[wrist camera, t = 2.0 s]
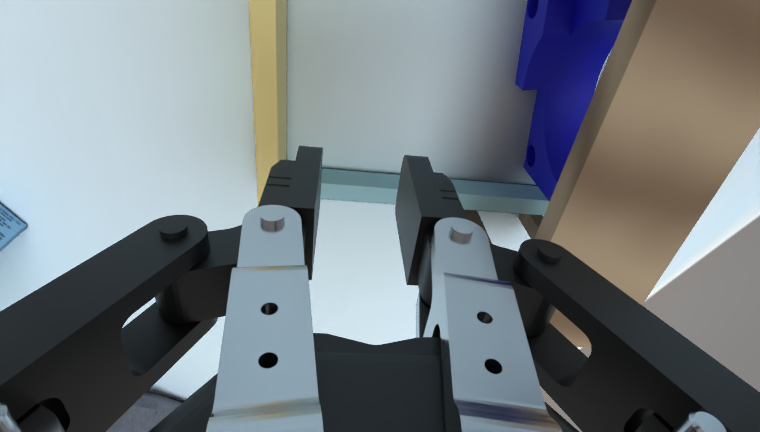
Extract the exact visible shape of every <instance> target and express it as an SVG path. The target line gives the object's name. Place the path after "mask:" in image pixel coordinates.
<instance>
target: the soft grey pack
mask: <svg viewBox="0 0 760 432" xmlns="http://www.w3.org/2000/svg"><path fill="white" fill-rule="evenodd" d="M181 404H182V402H179V401H177V400H174V399H171V398H168V397H166V396H163V395H159V394H155V393H150V392H146V393H145V394H144V395H143V396H142V397H141V398H140V399H139V400H138V401H136V402H135V403H134V404H133V405H132V406H131V407H130V408H129V409H128V410H127V411H126V412H125V413H124V414H123V415H122V416H121V417H120V418H119V419H118V420H117V421H116V422H115V423H114V424H113V425H112V426H111V427H110V428H109V429H108V430H107V431H106V432H148V431H150V430H151V429H152V428H153V427H154V426H156V425H157V424H158V423H159V422H160V421H162V420H163V419H164V418H165V417H166V416H167V415H169V414H170V413H171V412H172V411H173V410H175V409H176V408H177V407H178V406H179V405H181Z"/></svg>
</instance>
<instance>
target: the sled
mask: <svg viewBox="0 0 760 432" xmlns="http://www.w3.org/2000/svg"><path fill="white" fill-rule="evenodd" d="M249 17H250V39H251V60H252V82H253V104H254V126H255V148H256V169H257V191H258V205H259V202H260V199H261V196H262V193H263V190H264V187H265V185H266V181H267V178H268V175H269V172H270V169H271V167H272V166H273V165H275V164H276V163H277V162H279V161H280V160H287V0H249ZM399 179H400V175H394V174H382V173H370V172H357V171H345V170H333V169H322V176H321V195H320V199H327V200H340V201H354V202H368V203H382V204H395V205H396V197H397V191H398V185H399ZM450 180H451V181H452V183H453V185H454V187H455V190H456V193H457V195H458V197H459V200H460V202H461V204H462V207H463V209H464V210H478V211H492V212H506V213H519V214H533V215H544V214H545V212H546V209H547V207H548V204H549V201H548V199H547V198H546V197H545V195H544V194H543V193H542V191H541V190H540V189H539V187H538V186H530V185H517V184H505V183H493V182H480V181H468V180H456V179H450Z"/></svg>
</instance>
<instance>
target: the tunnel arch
mask: <svg viewBox="0 0 760 432" xmlns="http://www.w3.org/2000/svg"><path fill="white" fill-rule="evenodd" d="M759 127H760V0H632V2H631V4H630V7H629V9H628V12H627V14H626V17H625V19H624V22H623V24H622V26H621V29H620V31H619V34H618V36H617V39H616V41H615V44H614V46H613V48H612V51H611V53H610V56H609V58H608V61H607V63H606V65H605V68H604V70H603V73H602V75H601V78H600V80H599V83H598V85H597V87H596V90H595V92H594V95H593V97H592V100H591V102H590V104H589V107H588V109H587V112H586V114H585V117H584V119H583V122H582V124H581V126H580V129H579V131H578V134H577V136H576V139H575V141H574V143H573V146H572V148H571V151H570V153H569V156H568V158H567V161H566V163H565V165H564V168H563V170H562V173H561V175H560V178H559V180H558V183H557V185H556V187H555V190H554V192H553V195H552V197H551V200H550V202H549V204H548V207H547V209H546V212H545V214H544V217H543V215H533V214H520V215H519V217H518V218H519V219H520V221H521V223H522V224H523V226H524V228H525V229H526V231H527V233H528V234H529V236H530V238H531V239H542V240H547V241H550V242H553V243H556V244H558V245H560V246H562V247H563V248H565V249H566V250H568V251H569V252H570V253H572V254H573V255H574V256H576V257H577V258H578V259H580V260H581V261H583V262H584V263H585V264H587V265H588V266H589V267H591V268H592V269H593V270H595V271H596V272H597V273H599V274H600V275H601V276H603V277H604V278H606V279H607V280H608V281H610V282H611V283H612V284H614V285H615V286H616V287H618V288H619V289H620V290H622V291H623V292H624V293H626V294H627V295H629V296H630V297H631V298H633V299H634V300H635V301H637V302H638V303H639V304H641V305H642V304H643V303H644V301H645V300H646V298H647V297H648V295H649V294H650V292H651V291H652V289H653V288H654V286H655V285H656V283H657V282H658V280H659V279H660V277H661V276H662V274H663V273H664V271H665V270H666V268H667V267H668V265H669V263H670V262H671V260H672V259H673V257H674V256H675V254H676V253H677V251H678V250H679V248H680V247H681V245H682V244H683V242H684V241H685V239H686V238H687V236H688V235H689V233H690V232H691V230H692V229H693V227H694V226H695V224H696V223H697V221H698V220H699V218H700V217H701V215H702V214H703V212H704V211H705V209H706V208H707V206H708V205H709V203H710V201H711V200H712V198H713V197H714V195H715V194H716V192H717V191H718V189H719V188H720V186H721V185H722V183H723V182H724V180H725V179H726V177H727V176H728V174H729V173H730V171H731V170H732V168H733V167H734V165H735V164H736V162H737V161H738V159H739V158H740V156H741V155H742V153H743V152H744V150H745V149H746V147H747V146H748V144H749V143H750V141H751V139H752V138H753V136H754V135H755V133H756V132H757V130H758V129H759ZM464 211H465V214H466V216H467V219H468V220H469V221H472V222H474V223H476V224H477V225H479V226H480V227H481V228H483V230H484V231H485V232H486V230H485V227H484V225H483V223H482V221H481V219H480V217H479V214H478V212H477V210H464ZM486 234H487V232H486ZM487 236H488V234H487ZM488 240H489V243H491V240H490V238H489V236H488ZM491 244H492V243H491ZM550 323H551V324H552V325H553V326H554V327H555V328H556V329H557V330H558V331H559V332H561V333H562V334H563V335H564V336H565V337H566V338H567V339H568V340H569V341H570V342H571V343H572V344H573V345H575V346H576V347H591V343H590V341H589V339H588V337H587V336H586V335H585V334H584V333H583V332H582V331H581V330H580V329H579V328H578V327H577V326H576V325H574V324H573V323H572V322H571V321H570V320H569V319H568V318H566V317H565V316H564V315H563V314H562V313H561V312H560V311H559V310H557V309H556V310H555V312H554V314H553V316H552V318H551V320H550Z"/></svg>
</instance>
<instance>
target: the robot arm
mask: <svg viewBox="0 0 760 432" xmlns="http://www.w3.org/2000/svg"><path fill="white" fill-rule="evenodd" d="M322 156H323V148H320V147H308V146H299V148H298V153H297V157H296V161H290V160H280V161H279V162H277V163H276V164H275V165H273V166H272V167H271V169H270V172H269V175H268V178H267V181H266V185H265V187H264V190H263V193H262V196H261V199H260V202H259V205H258V207H257V208H254V209H252V210H250V211H249V212H248V213H247V214H246V215H245V216H244V218H243V222H242V225H240V226H238V227H234V228H231V229H225V230H217V231H210V232H208V231H207V226H206V224H205V223H204V221H202V220H201V219H199V218H197V217H193V216H189V215H172V216H166V217H162V218H159V219H157V220H154V221H152V222H150V223H149V224H147V225H145V226H144V227H142V228H140V229H138V230H137V231H135V232H133V233H132V234H130V235H128V236H127V237H125V238H123V239H122V240H120V241H118V242H117V243H115V244H113V245H112V246H110V247H108V248H107V249H105V250H103V251H101V252H100V253H98V254H96V255H95V256H93V257H91V258H90V259H88V260H86V261H85V262H83V263H81V264H80V265H78V266H76V267H75V268H73V269H71V270H70V271H68V272H66V273H64V274H63V275H61V276H59V277H58V278H56V279H54V280H53V281H51V282H49V283H48V284H46V285H44V286H43V287H41V288H39V289H38V290H36V291H34V292H33V293H31V294H29V295H27V296H26V297H24V298H22V299H21V300H19V301H17V302H16V303H14V304H12V305H11V306H9V307H7V308H6V309H4V310H2V311H1V312H0V432H106V431H107V430H108V429H109V428H110V427H111V426H112V425H113V424H114V423H115V422H116V421H117V420H118V419H119V418H120V417H121V416H122V415H123V414H124V413H125V412H126V411H127V410H128V409H129V408H130V407H131V406H132V405H133V404H134V403H135V402H136V401H138V400H139V399H140V398H141V397H142V396H143V395H144V394H145V393H146V392H147V391H148V390H149V389H150V388H151V387H152V386H153V385H154V384H155V383H156V382H157V381H158V380H159V379H160V378H161V377H162V376H163V375H164V374H165V373H166V372H167V371H168V370H169V369H170V368H171V367H172V366H173V365H174V364H175V363H176V362H177V361H178V360H179V359H180V358H181V357H182V356H183V355H184V354H185V353H186V352H187V351H188V350H189V349H190V348H191V347H192V346H193V345H195V344H196V343H197V342H198V341H199V340H200V339H201V338H202V337H203V336H204V335H205V334H206V333H207V332H208V331H209V330H210V329H211V328H212V327H213V326H214V324H215V323H216V321H217V319H218V317H222V316H226V317H225V324H224V332H223V339H222V346H221V354H220V361H219V369H218V373H217V374H216V375H215V376H214V377H213V378H211V379H210V380H209V381H208V382H207V383H205V384H204V385H203V386H202V387H201V388H199V389H198V390H197V391H196V392H195V393H194V394H192V395H191V396H190V397H189V398H188V399H186V400H185V401H184V402H183V403H182V404H181V405H179V406H178V407H177V408H176V409H175V410H173V411H172V412H171V413H170V414H169V415H167V416H166V417H165V418H164V419H163V420H162V421H160V422H159V423H158V424H157V425H156V426H154V427H153V428H152V429H151V430H150V431H148V432H579V431H578V430H576V429H575V428H574V427H573V426H572V425H571V424H570V423H569V422H567V421H566V420H565V419H564V418H563V417H562V416H561V415H559V414H558V413H557V412H556V411H555V410H553V408H551V407H550V406H549V405H548V404H547V403H546V402H544V399H543V395H542V392H541V388H540V386H541V387H542V388H543V389H544V390H545V391H546V393H547V394H548V395H549V396H550V397H551V398H552V399H553V400H554V401H555V402H556V403H557V404H558V405H559V407H560V408H562V410H563V411H564V412H565V413H566V414H567V415H568V416H569V417H570V419H571V420H572V421H573V422H574V423H575V424H576V425H577V426H578V427H579V428H580V429H581V430H582V432H760V392H758V391H757V390H756V389H754V388H753V387H751V386H750V385H749V384H748V383H746V382H745V381H743V380H742V379H741V378H739V377H738V376H737V375H735V374H734V373H733V372H731V371H730V370H728V369H727V368H726V367H725V366H723V365H722V364H720V363H719V362H718V361H716V360H715V359H714V358H712V357H711V356H710V355H708V354H707V353H706V352H704V351H703V350H701V349H700V348H699V347H697V346H696V345H695V344H693V343H692V342H691V341H689V340H688V339H687V338H685V337H684V336H682V335H681V334H680V333H679V332H677V331H676V330H674V329H673V328H672V327H670V326H669V325H667V324H666V323H665V322H663V321H662V320H661V319H660V318H658V317H657V316H656V315H654V314H653V313H651V312H650V311H649V310H647V309H646V308H645V307H643V306H642V305H641V304H639V303H638V302H637V301H635V300H634V299H633V298H631V297H630V296H629V295H627V294H626V293H624V292H623V291H622V290H620V289H619V288H618V287H616V286H615V285H614V284H612V283H611V282H610V281H608V280H607V279H606V278H604V277H603V276H601V275H600V274H599V273H597V272H596V271H595V270H593V269H592V268H591V267H589V266H588V265H587V264H585V263H584V262H583V261H581V260H580V259H578V258H577V257H576V256H574V255H573V254H572V253H570V252H569V251H568V250H566V249H565V248H563V247H562V246H560V245H558V244H556V243H553V242H550V241H547V240H542V239H529V240H526V241H524V242H523V243H522V244H521V246H520V248H519V251H518V252H517V251H514V250H510V249H506V248H502V247H499V246H496V245H493V244H491V243H489V240H488V236H487V234H486V232H485V231H484V230H483V228H481V227H480V226H479V225H477V224H476V223H474V222H472V221H469V220H468V219H467V216H466V214H465V211H464V209H463V207H462V204H461V202H460V200H459V197H458V195H457V193H456V190H455V187H454V185H453V183H452V181H451V180H450V179H449V178H447V177H446V176H445V175H444V174H443V173H434V172H433V170H432V167H431V164H430V161H429V159H428V157H422V156H410V155H405V156H404V158H403V162H402V167H401V173H400V179H399V185H398V191H397V197H396V207H395V214H396V221H397V227H398V234H399V240H400V246H401V252H402V258H403V264H404V270H405V276H406V283H407V285H418V286H419V294H418V298H417V302H416V338H413V339H408V340H403V341H398V342H392V343H387V344H382V345H370V344H366V343H362V342H358V341H354V340H350V339H346V338H342V337H338V336H334V335H330V334H323V333H313V327H312V315H311V303H310V292H309V280H312V272H313V263H314V254H315V245H316V236H317V227H318V218H319V208H320V195H321V176H322ZM154 297H155V299H156V302H155V303H154V304H153V305H151V306H150V307H149V308H148V309H146V310H145V311H144V312H142V313H141V314H140V315H139V316H137V317H136V318H135V319H134V320H132V321H131V322H130V323H129V324H127V325H126V326H125V327H123V325H124V323H125V322H126V320H127V319H128V318H129V317H130V316H131V315H132V314H133V313H134V312H136V311H137V310H138V309H140V308H141V307H142V306H143V305H145V304H146V303H147V302H149V301H150V300H151V299H152V298H154ZM556 309H557V310H559V311H560V312H561V313H562V314H563V315H564V316H565V317H566V318H568V319H569V320H570V321H571V322H572V323H573V324H574V325H576V326H577V327H578V328H579V329H580V330H581V331H582V332H583V333H584V334H585V335H586V336H587V337H588V339H589V341H590V343H591V348H592V352H591V355H590V357H589V358H588V357H586V356H585V355H584V354H583V353H582V352H581V351H580V350H579V349H578V348H577V347H576V346H575V345H573V344H572V343H571V342H570V341H569V340H568V339H567V338H566V337H565V336H564V335H563V334H562V333H561V332H559V331H558V330H557V329H556V328H555V327H554V326H553V325H552V324H551V323H550V320H551V318H552V316H553V314H554V312H555V310H556ZM122 327H123V328H122Z"/></svg>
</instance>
